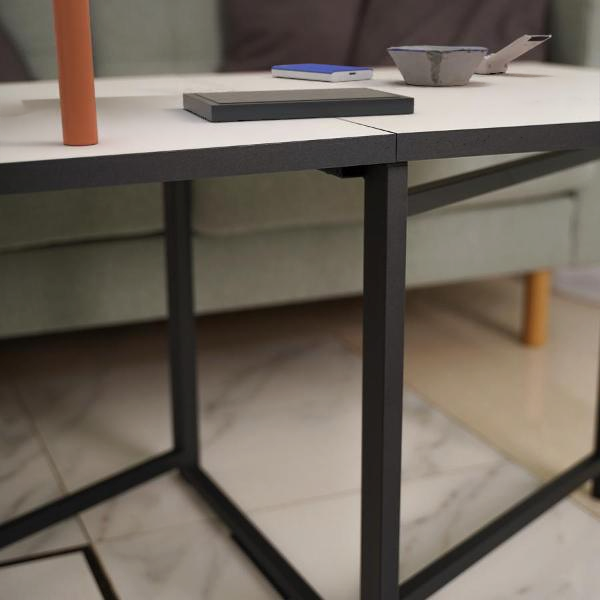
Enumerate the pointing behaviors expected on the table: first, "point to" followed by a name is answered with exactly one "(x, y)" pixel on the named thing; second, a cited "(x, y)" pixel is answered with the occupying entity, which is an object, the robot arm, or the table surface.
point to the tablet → (296, 104)
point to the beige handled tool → (508, 54)
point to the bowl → (437, 64)
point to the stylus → (75, 71)
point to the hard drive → (322, 72)
